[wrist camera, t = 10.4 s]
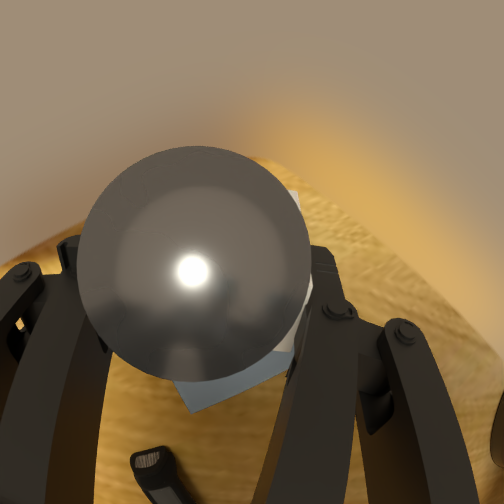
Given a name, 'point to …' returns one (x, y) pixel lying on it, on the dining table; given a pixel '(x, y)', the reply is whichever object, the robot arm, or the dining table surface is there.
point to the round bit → (194, 264)
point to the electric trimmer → (159, 477)
